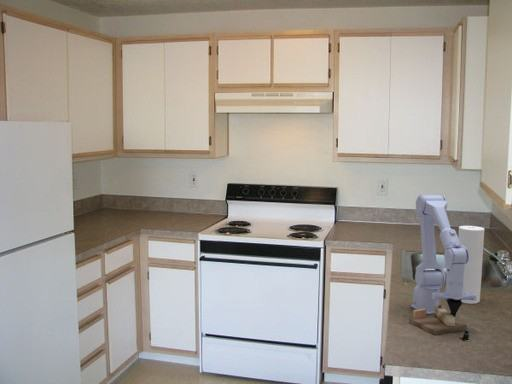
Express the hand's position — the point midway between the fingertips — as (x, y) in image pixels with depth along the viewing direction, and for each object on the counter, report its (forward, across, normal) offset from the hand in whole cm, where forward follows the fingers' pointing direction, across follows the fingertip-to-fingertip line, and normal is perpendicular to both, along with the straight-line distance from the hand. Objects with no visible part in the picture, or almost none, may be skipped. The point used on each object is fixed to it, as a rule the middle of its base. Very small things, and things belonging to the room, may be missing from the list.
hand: (452, 319), depth 192 cm
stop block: (+1, -10, +5) cm, 11 cm away
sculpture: (+3, +2, -10) cm, 11 cm away
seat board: (+3, -5, +1) cm, 6 cm away
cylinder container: (+3, +15, +31) cm, 35 cm away
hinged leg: (+1, -2, +2) cm, 3 cm away
